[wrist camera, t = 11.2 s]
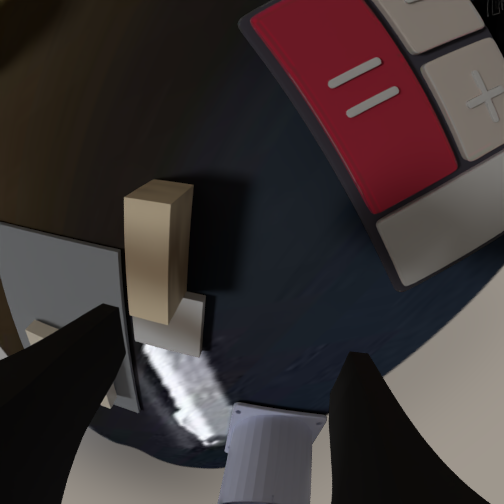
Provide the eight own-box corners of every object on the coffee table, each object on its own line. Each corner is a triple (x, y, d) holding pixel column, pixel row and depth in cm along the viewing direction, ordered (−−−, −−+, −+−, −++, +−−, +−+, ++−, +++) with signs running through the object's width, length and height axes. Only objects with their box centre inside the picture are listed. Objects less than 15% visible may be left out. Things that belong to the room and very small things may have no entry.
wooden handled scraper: (201, 350, 22) (188, 386, 19) (139, 334, 23) (119, 366, 19) (216, 188, 17) (198, 209, 14) (134, 176, 17) (101, 193, 14)
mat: (140, 410, 27) (138, 413, 27) (34, 366, 28) (32, 368, 28) (120, 249, 19) (117, 252, 19) (-9, 219, 20) (-12, 221, 20)
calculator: (430, -65, 6) (560, 206, 10) (407, -33, 10) (520, 186, 14) (228, 16, 10) (401, 304, 14) (246, 39, 14) (383, 266, 18)
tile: (106, 344, 23) (117, 395, 26) (36, 318, 24) (53, 369, 27) (96, 359, 22) (110, 408, 25) (25, 329, 22) (45, 380, 25)
